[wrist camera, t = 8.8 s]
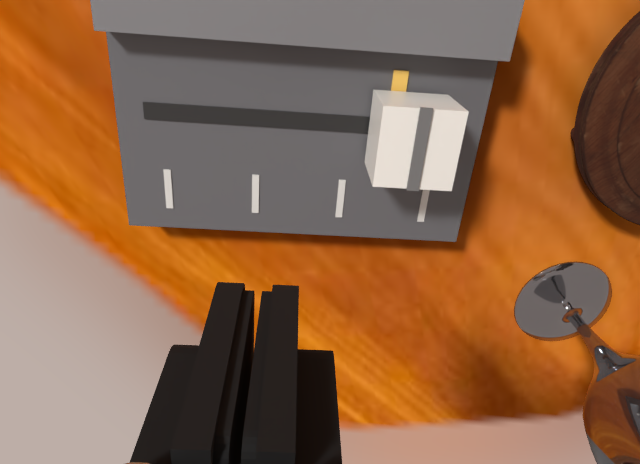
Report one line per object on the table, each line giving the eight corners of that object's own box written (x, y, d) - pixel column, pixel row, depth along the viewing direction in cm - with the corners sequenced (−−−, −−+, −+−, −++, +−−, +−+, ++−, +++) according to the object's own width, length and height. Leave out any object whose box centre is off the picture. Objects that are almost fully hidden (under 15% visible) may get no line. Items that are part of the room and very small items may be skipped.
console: (495, -9, 26) (525, -6, 23) (445, 223, 33) (463, 254, 29) (115, -41, 25) (84, -43, 22) (141, 207, 32) (120, 237, 28)
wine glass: (511, 264, 34) (642, 445, 21) (625, 250, 34) (830, 425, 21) (505, 350, 38) (614, 550, 25) (608, 338, 38) (773, 534, 25)
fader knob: (448, 93, 26) (469, 111, 23) (434, 167, 28) (452, 193, 24) (373, 88, 26) (384, 105, 22) (364, 162, 27) (372, 188, 24)
